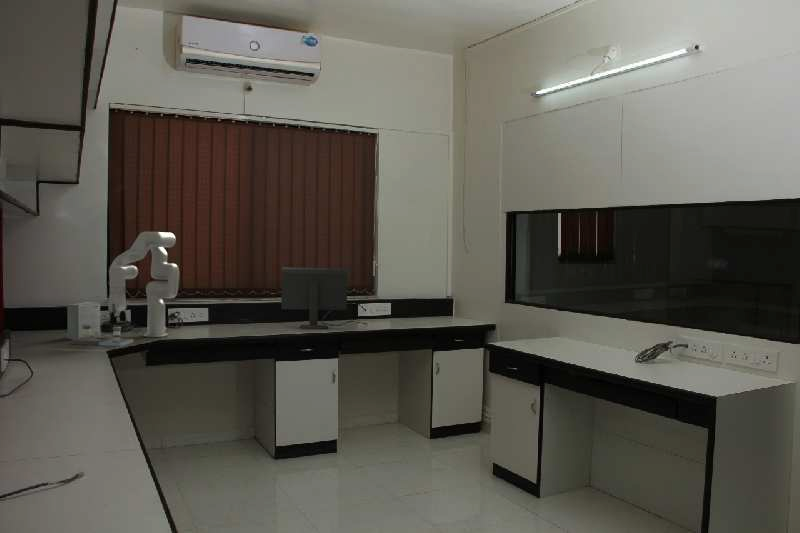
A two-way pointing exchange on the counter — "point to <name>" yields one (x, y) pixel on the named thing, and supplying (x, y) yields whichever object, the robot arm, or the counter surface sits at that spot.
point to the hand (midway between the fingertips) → (118, 322)
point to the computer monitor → (314, 291)
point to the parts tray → (108, 343)
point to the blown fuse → (116, 334)
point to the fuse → (86, 331)
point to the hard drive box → (83, 319)
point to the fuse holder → (91, 340)
